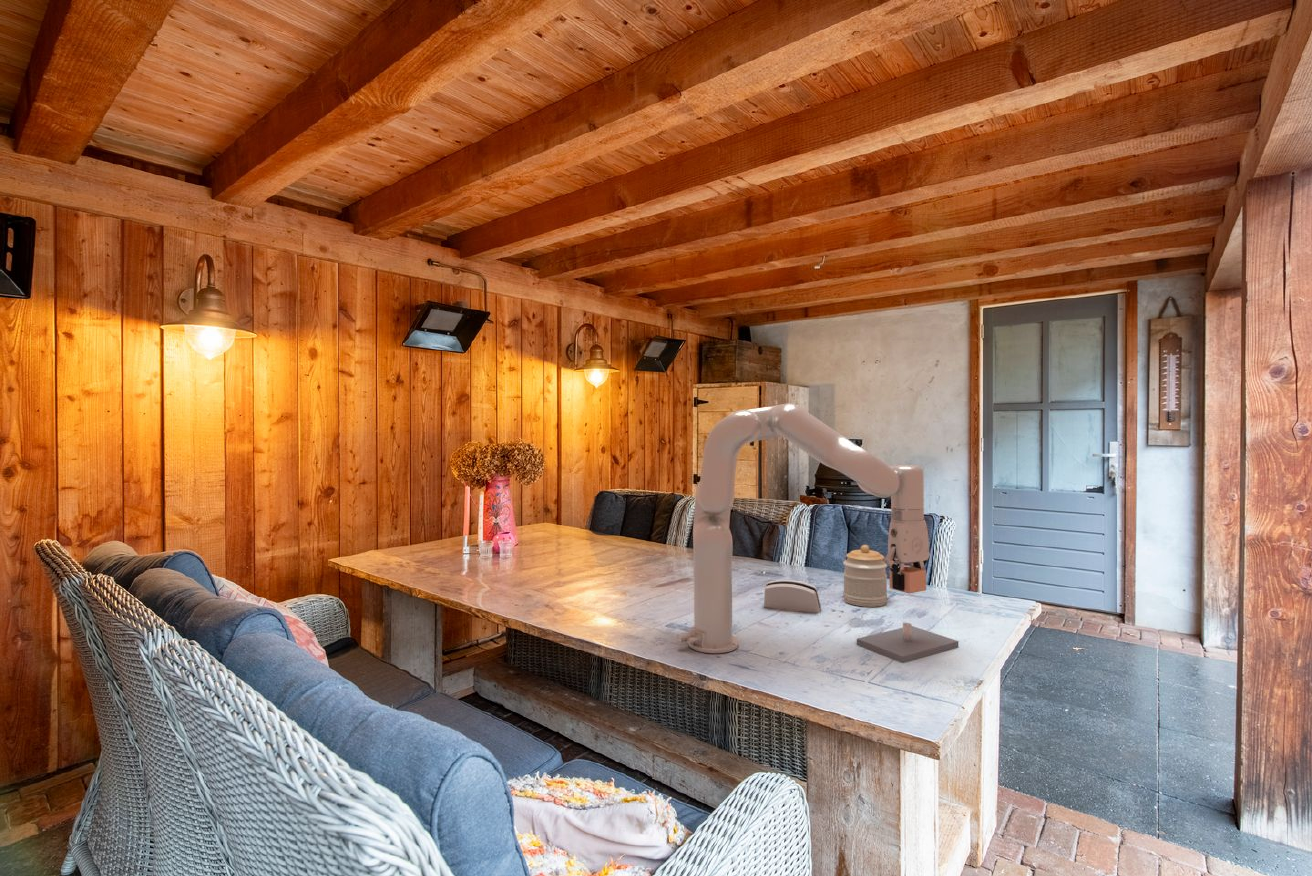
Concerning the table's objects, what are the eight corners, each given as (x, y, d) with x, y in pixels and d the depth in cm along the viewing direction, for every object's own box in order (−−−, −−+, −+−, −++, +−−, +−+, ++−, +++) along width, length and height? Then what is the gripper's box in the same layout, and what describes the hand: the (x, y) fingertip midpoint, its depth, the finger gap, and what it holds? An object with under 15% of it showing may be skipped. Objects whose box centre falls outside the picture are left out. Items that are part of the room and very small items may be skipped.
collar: (909, 593, 155) (909, 573, 154) (889, 588, 160) (889, 568, 160) (926, 590, 157) (926, 570, 157) (906, 585, 163) (905, 565, 163)
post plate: (902, 662, 148) (902, 639, 148) (856, 644, 160) (856, 622, 160) (958, 647, 158) (958, 625, 158) (911, 631, 170) (911, 610, 170)
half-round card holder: (822, 608, 191) (820, 579, 188) (819, 618, 187) (817, 588, 184) (767, 602, 198) (764, 574, 195) (763, 611, 194) (760, 583, 191)
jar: (873, 595, 206) (873, 540, 205) (895, 606, 193) (895, 548, 192) (835, 597, 203) (835, 541, 203) (855, 609, 191) (855, 550, 190)
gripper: (895, 520, 151) (896, 596, 151) (943, 514, 159) (943, 586, 160) (870, 516, 157) (871, 589, 158) (918, 510, 166) (918, 579, 166)
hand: (907, 587), depth 159 cm, fingers closed on collar, 6 cm apart
